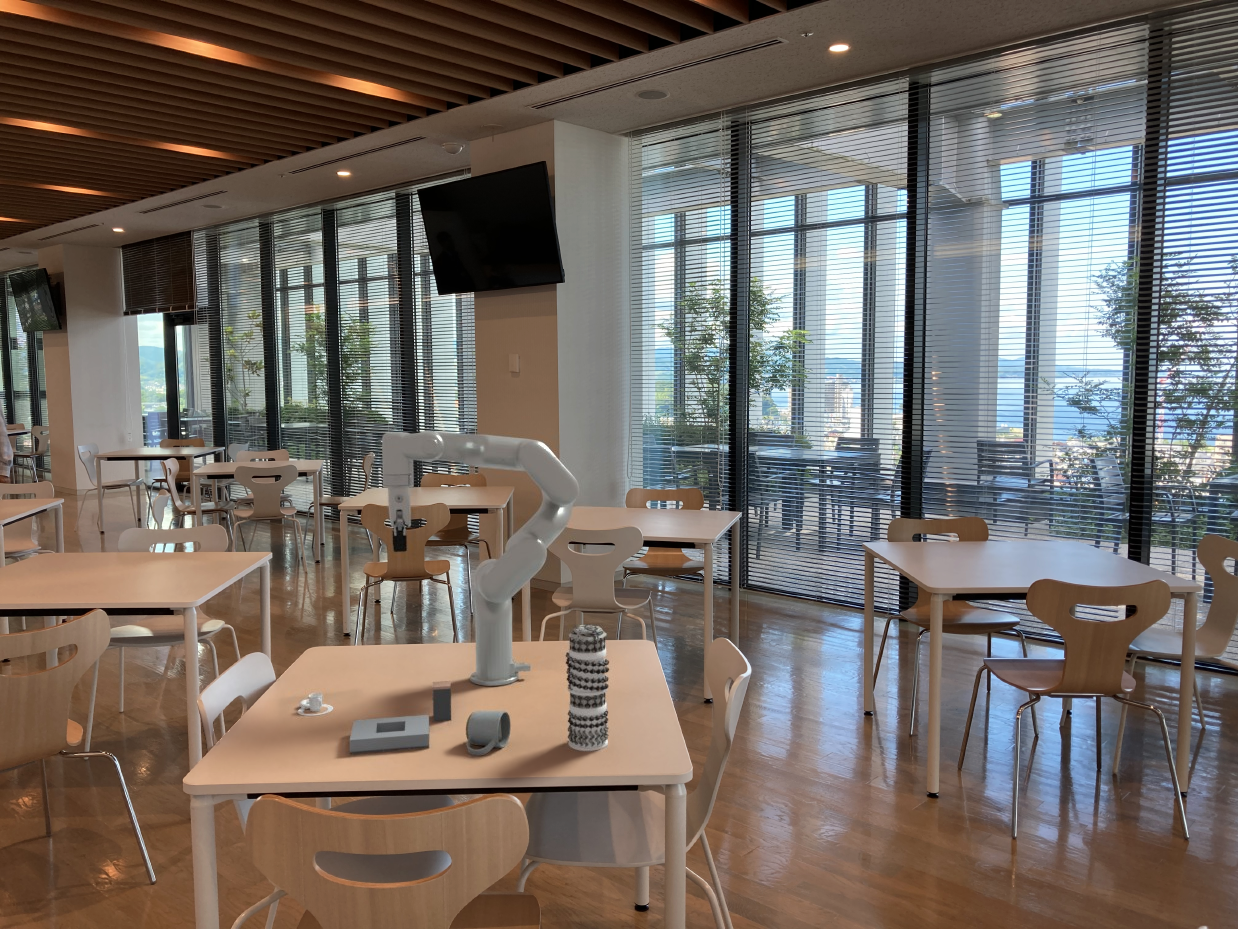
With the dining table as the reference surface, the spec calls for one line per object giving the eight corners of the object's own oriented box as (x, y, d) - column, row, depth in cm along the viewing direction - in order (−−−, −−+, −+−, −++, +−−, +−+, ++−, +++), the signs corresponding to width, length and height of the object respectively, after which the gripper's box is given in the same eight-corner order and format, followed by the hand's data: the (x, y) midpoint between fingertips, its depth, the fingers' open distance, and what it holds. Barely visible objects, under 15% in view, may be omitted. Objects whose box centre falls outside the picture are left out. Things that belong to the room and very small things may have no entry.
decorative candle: (559, 740, 192) (557, 625, 191) (597, 732, 197) (596, 620, 195) (578, 754, 184) (577, 634, 183) (617, 746, 189) (616, 629, 187)
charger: (450, 714, 209) (450, 680, 209) (451, 720, 205) (450, 686, 205) (433, 715, 208) (432, 682, 208) (433, 721, 204) (432, 687, 204)
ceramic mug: (477, 737, 195) (476, 703, 194) (511, 740, 193) (511, 706, 192) (457, 755, 185) (457, 720, 184) (493, 759, 183) (492, 723, 182)
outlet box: (428, 728, 200) (428, 714, 200) (429, 747, 189) (428, 733, 188) (354, 733, 197) (354, 720, 197) (349, 754, 185) (349, 740, 185)
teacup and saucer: (296, 707, 216) (296, 691, 215) (331, 703, 219) (331, 687, 218) (298, 719, 208) (297, 702, 207) (334, 715, 210) (333, 698, 210)
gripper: (415, 483, 219) (416, 553, 220) (412, 478, 236) (413, 543, 237) (383, 484, 217) (384, 554, 218) (382, 479, 234) (384, 544, 235)
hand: (399, 548), depth 228 cm, fingers open, 9 cm apart
